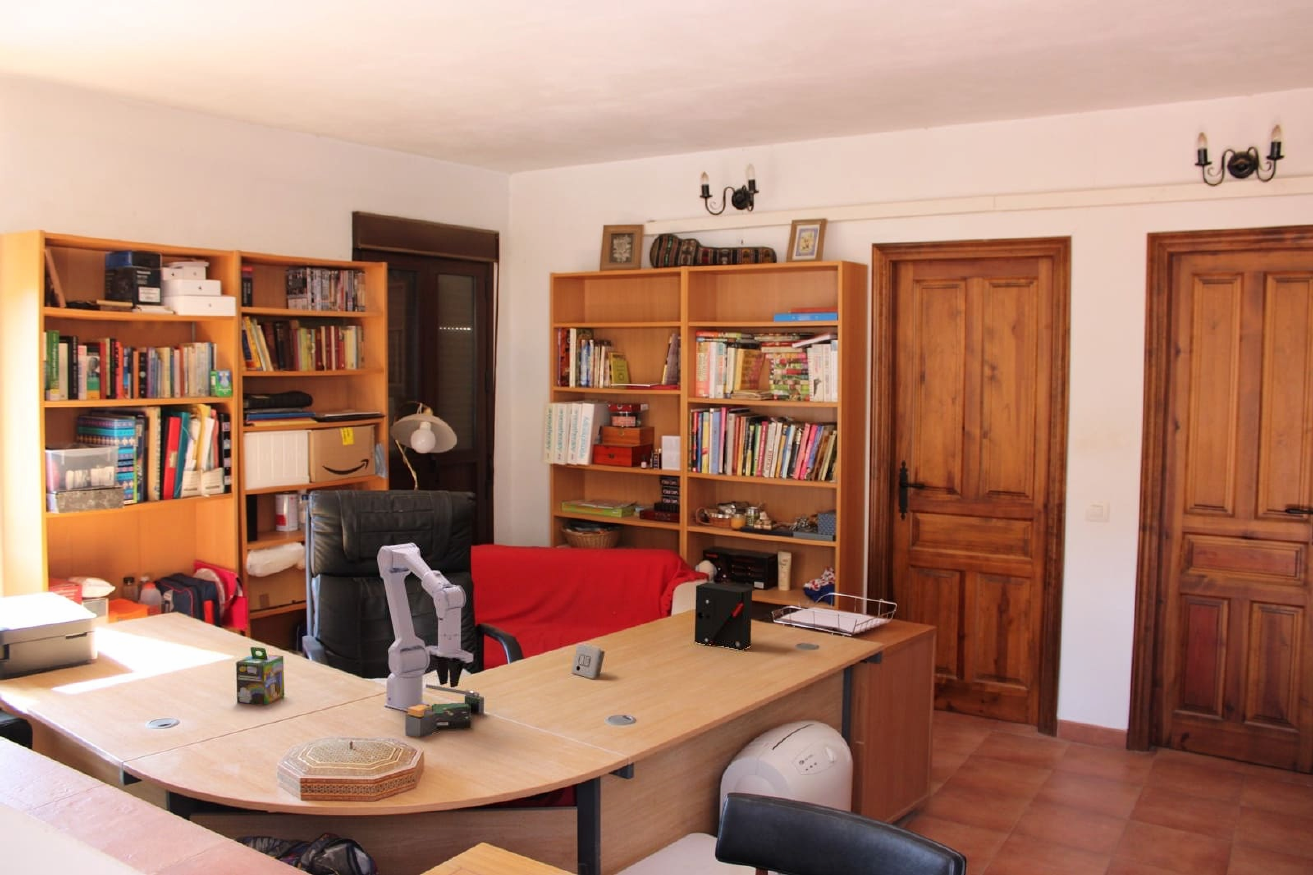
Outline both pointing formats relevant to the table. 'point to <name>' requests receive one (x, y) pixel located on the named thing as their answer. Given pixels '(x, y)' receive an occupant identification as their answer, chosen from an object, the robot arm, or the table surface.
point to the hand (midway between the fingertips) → (448, 685)
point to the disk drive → (453, 716)
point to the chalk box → (260, 678)
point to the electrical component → (723, 615)
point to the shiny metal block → (429, 720)
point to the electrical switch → (587, 661)
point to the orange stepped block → (417, 710)
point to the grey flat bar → (454, 690)
